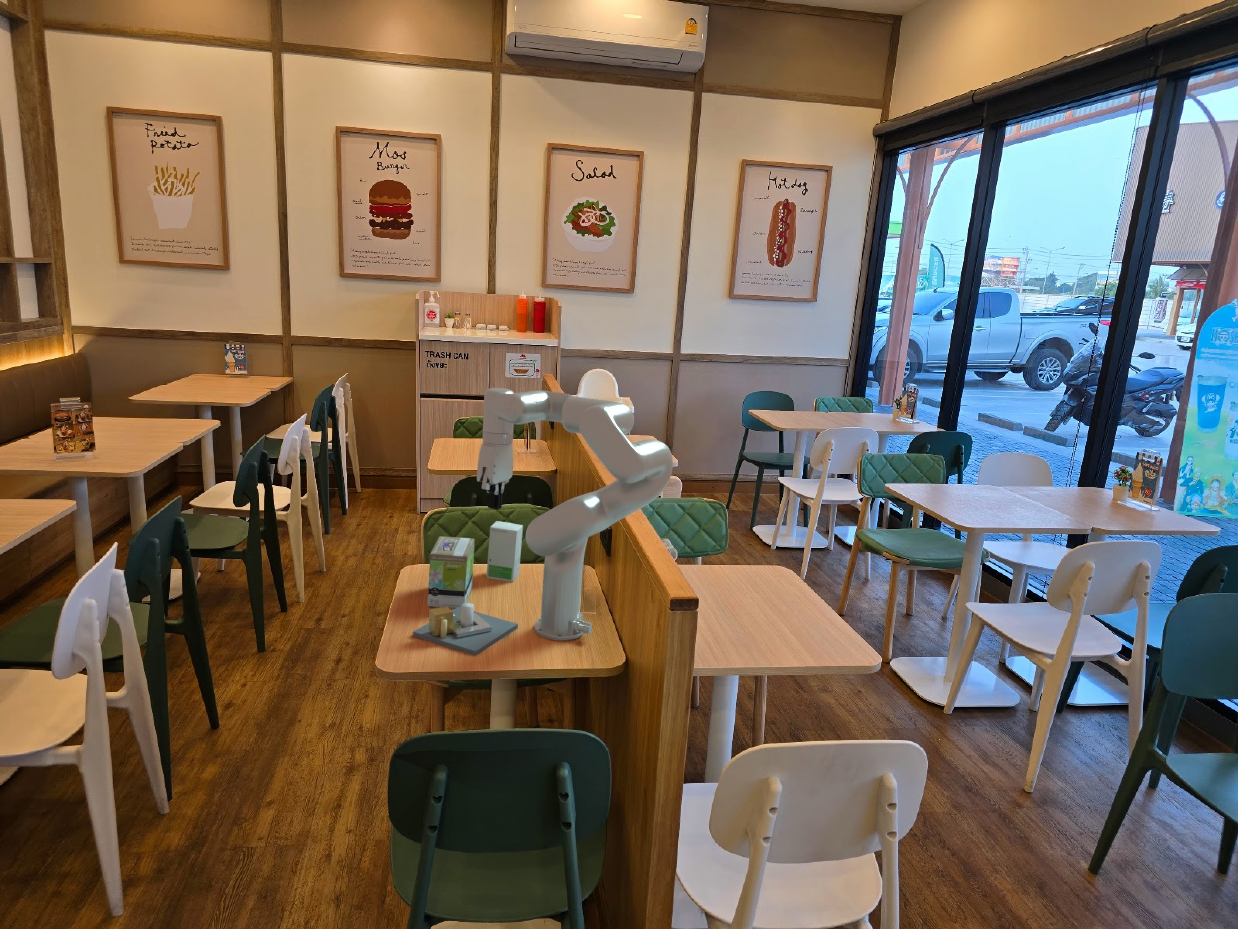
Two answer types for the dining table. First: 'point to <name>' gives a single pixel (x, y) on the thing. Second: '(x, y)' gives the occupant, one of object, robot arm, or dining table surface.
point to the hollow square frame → (455, 623)
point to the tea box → (450, 572)
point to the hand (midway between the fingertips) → (494, 508)
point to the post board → (471, 642)
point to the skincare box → (504, 551)
